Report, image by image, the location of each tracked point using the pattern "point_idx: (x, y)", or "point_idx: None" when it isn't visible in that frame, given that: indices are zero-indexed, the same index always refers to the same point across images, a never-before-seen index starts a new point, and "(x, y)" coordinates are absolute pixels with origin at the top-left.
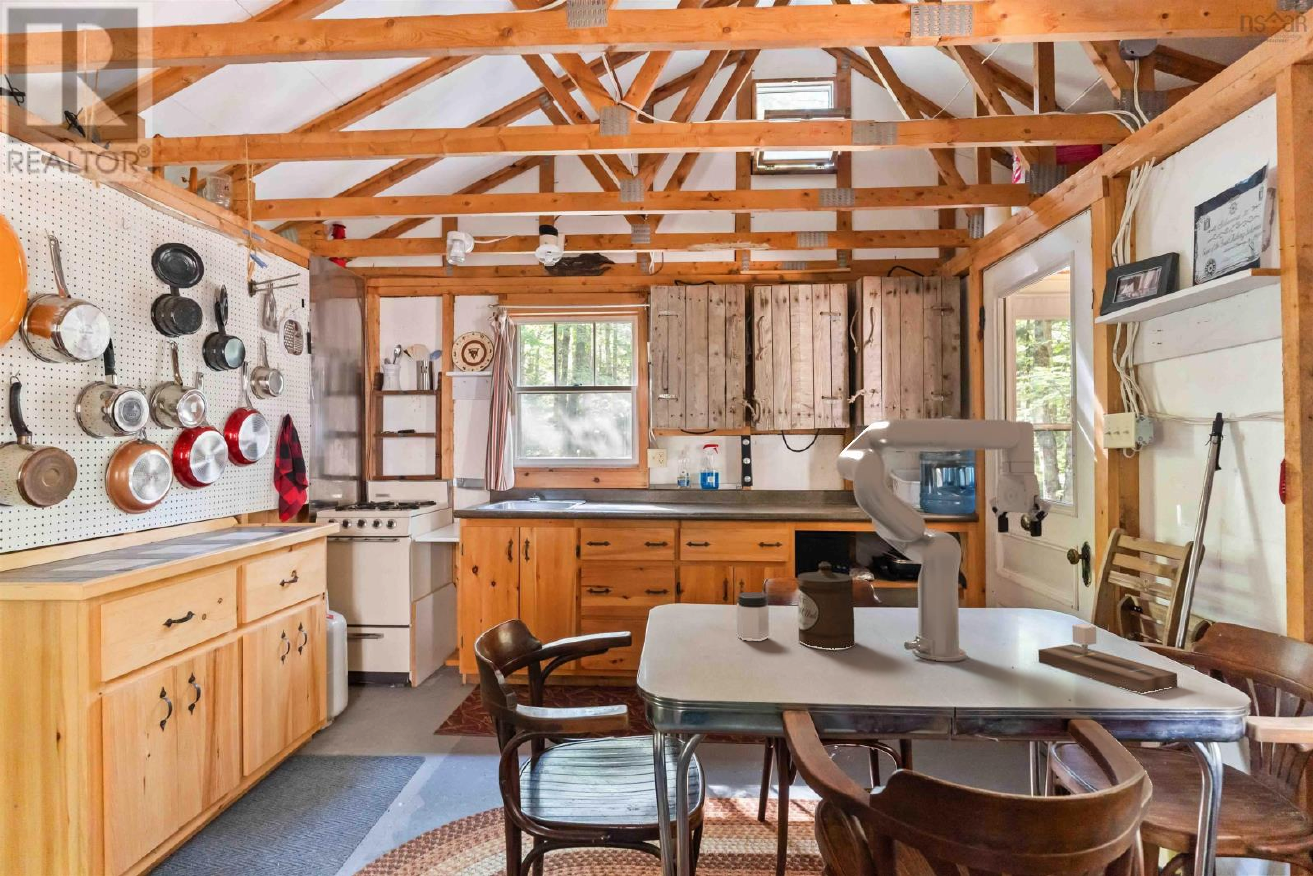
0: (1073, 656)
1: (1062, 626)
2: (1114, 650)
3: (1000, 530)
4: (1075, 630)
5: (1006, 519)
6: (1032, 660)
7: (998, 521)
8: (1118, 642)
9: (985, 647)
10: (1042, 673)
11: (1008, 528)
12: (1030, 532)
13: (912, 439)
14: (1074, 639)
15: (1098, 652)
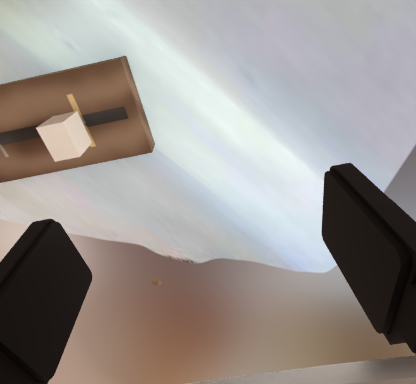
0: (72, 94)
1: (298, 240)
2: (175, 220)
3: (332, 176)
4: (59, 120)
5: (375, 307)
6: (138, 51)
7: (402, 221)
8: (208, 249)
9: (236, 13)
10: (52, 3)
11: (332, 254)
12: (41, 236)
13: None
14: (71, 113)
15: (101, 157)
